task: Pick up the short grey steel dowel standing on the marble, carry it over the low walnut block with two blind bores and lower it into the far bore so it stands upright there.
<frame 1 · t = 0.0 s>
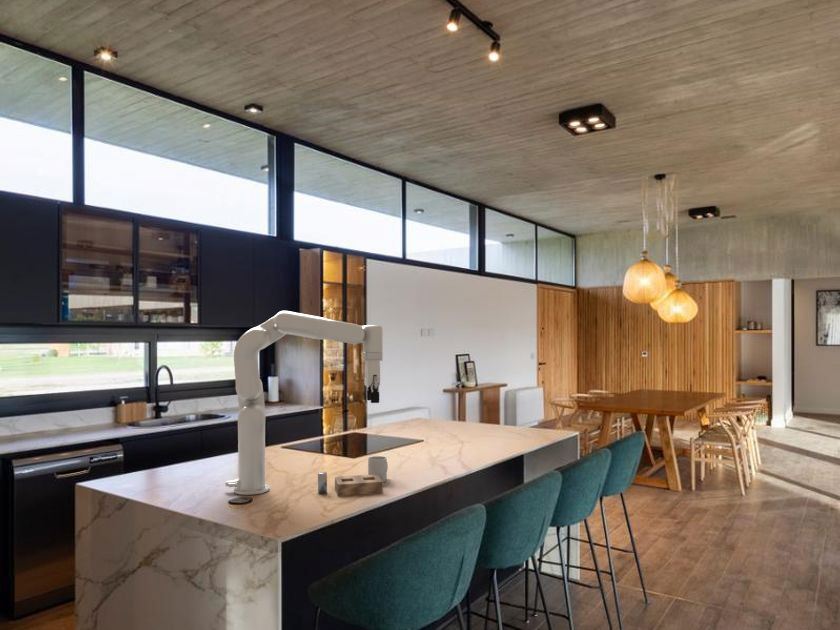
hand: (373, 401, 236), 31 cm above the countertop, fingers open, 9 cm apart
cup: (379, 480, 240), on the countertop
dowel: (322, 492, 222), on the countertop
bore block: (358, 490, 225), on the countertop
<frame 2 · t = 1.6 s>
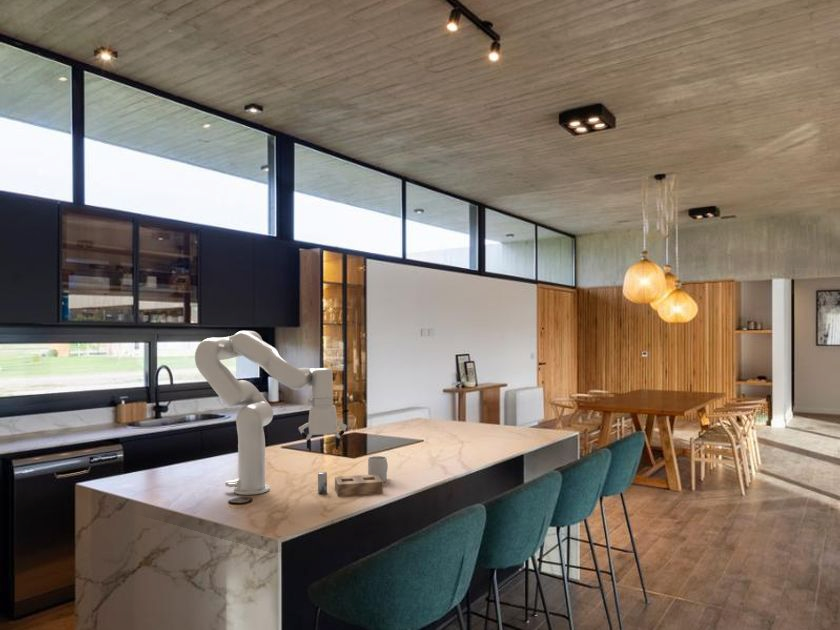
hand: (323, 449, 223), 15 cm above the countertop, fingers open, 9 cm apart
nothing on the countertop moved.
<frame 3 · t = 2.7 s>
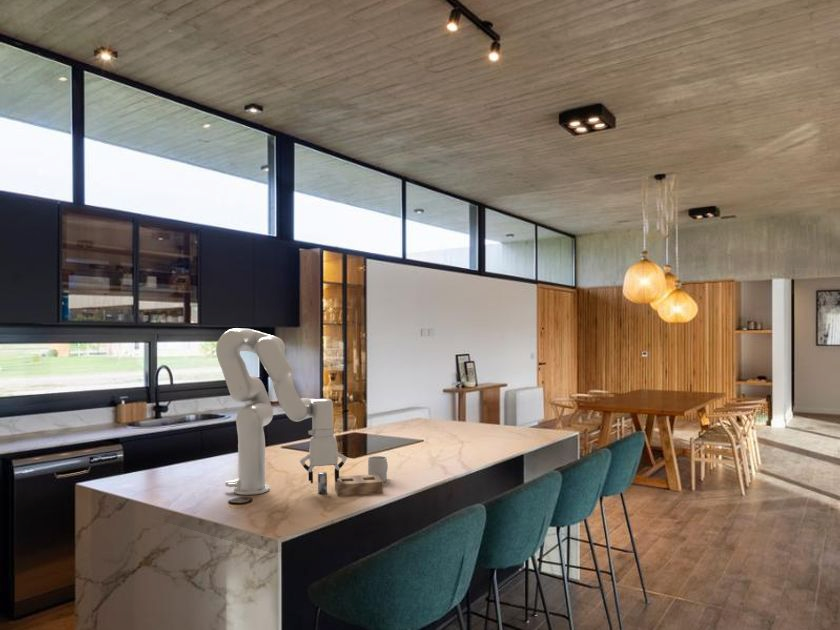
hand: (323, 481, 222), 4 cm above the countertop, fingers open, 8 cm apart
nothing on the countertop moved.
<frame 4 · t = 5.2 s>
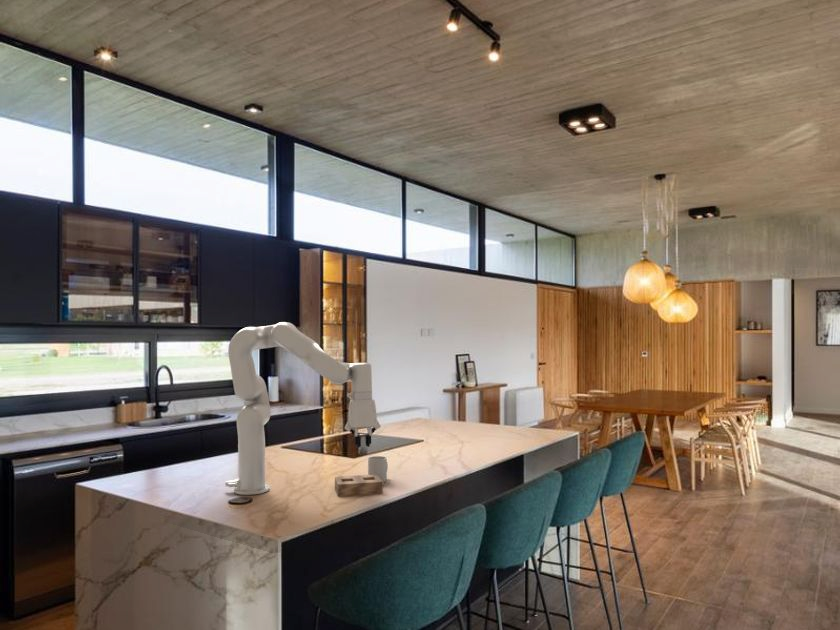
hand: (363, 445, 226), 16 cm above the countertop, fingers closed on dowel, 3 cm apart
dowel: (363, 453, 226), point 13 cm above the countertop, touching gripper
everything else where it was.
when the fingers open (6 cm above the countertop, at t = 7.0 s): dowel drops 2 cm, resting on bore block.
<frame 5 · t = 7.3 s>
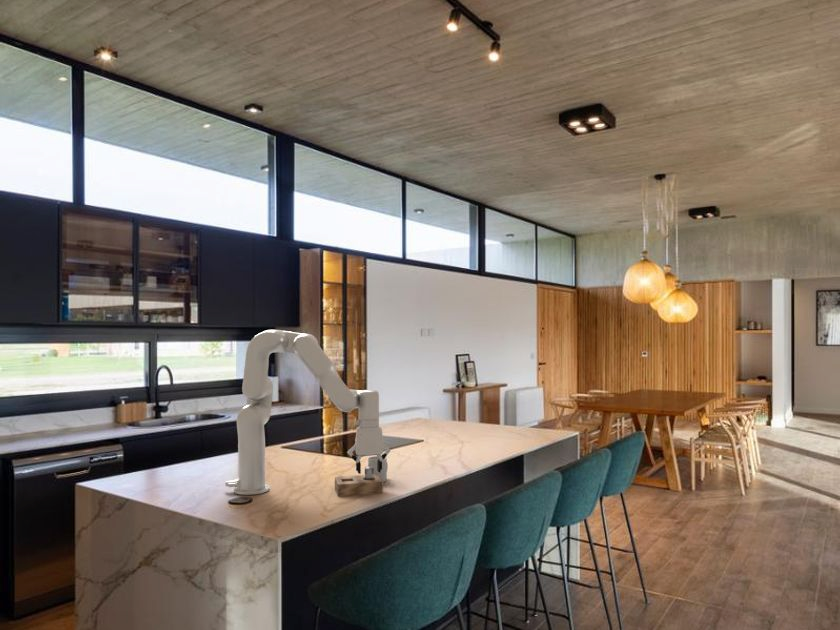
hand: (369, 472, 226), 6 cm above the countertop, fingers open, 6 cm apart
dowel: (369, 486, 226), point 1 cm above the countertop, touching bore block
everything else where it was.
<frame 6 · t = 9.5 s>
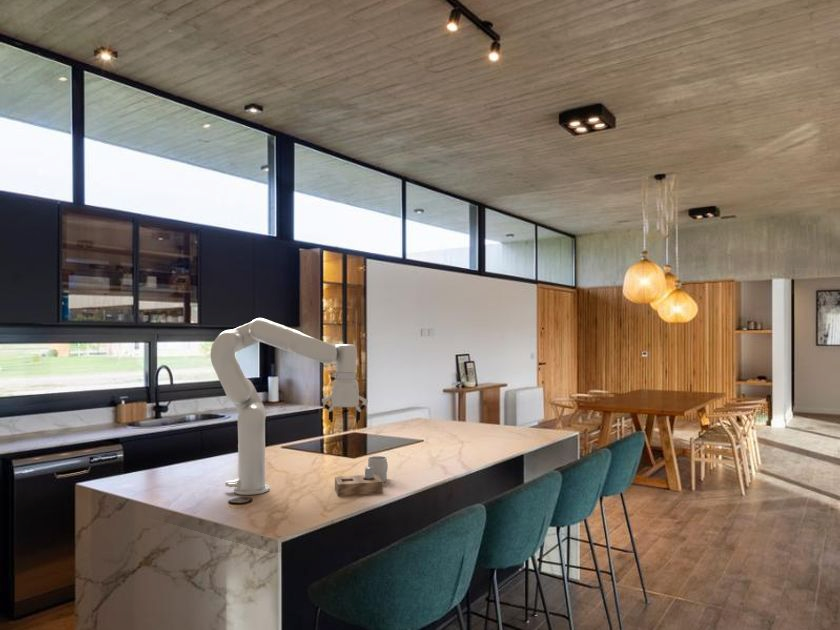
hand: (344, 421, 233), 24 cm above the countertop, fingers open, 9 cm apart
nothing on the countertop moved.
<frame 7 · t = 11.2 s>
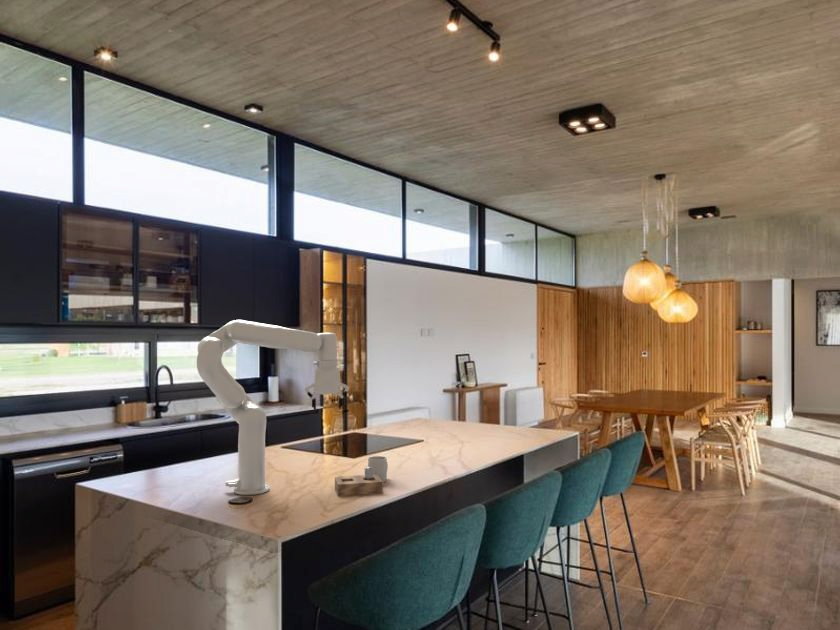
hand: (327, 408, 238), 28 cm above the countertop, fingers open, 9 cm apart
nothing on the countertop moved.
at the end: dowel 0.0 cm from the target spot on the bore block, point 1.0 cm above the bore block's base; dowel tilted 2°; the gripper is holding nothing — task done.
